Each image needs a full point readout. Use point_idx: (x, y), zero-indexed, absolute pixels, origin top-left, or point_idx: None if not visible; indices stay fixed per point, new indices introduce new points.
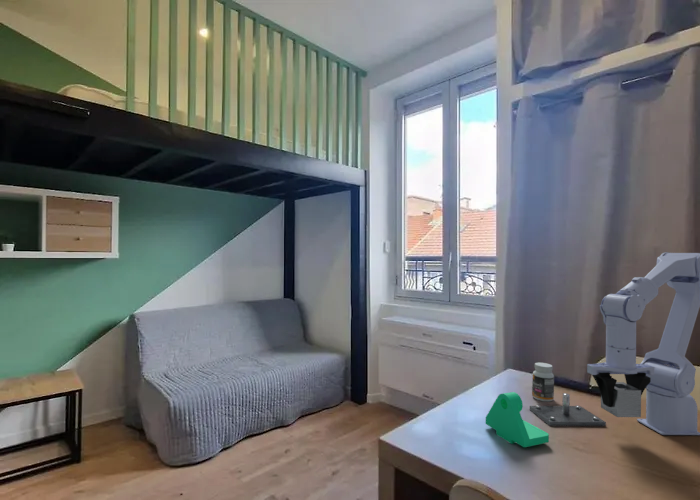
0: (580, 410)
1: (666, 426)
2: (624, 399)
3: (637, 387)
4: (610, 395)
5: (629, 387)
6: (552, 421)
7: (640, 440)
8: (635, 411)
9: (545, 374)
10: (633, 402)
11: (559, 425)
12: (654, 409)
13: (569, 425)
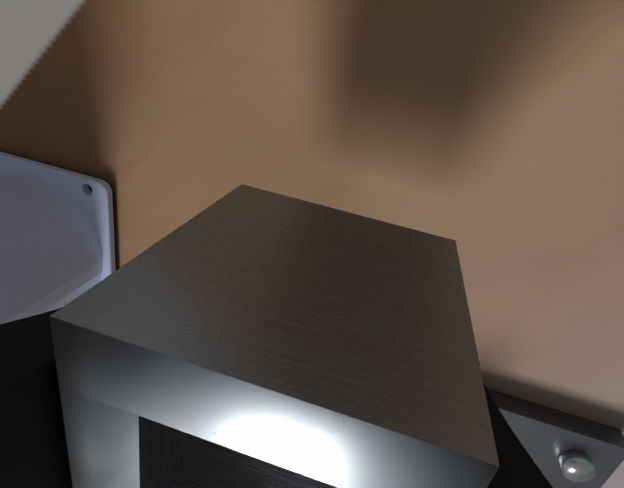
0: None
1: (50, 203)
2: (369, 313)
3: (36, 397)
4: (500, 438)
5: (139, 448)
6: (607, 448)
7: (266, 173)
8: (273, 212)
9: None
10: (262, 257)
11: (562, 414)
12: (17, 286)
13: (503, 396)
